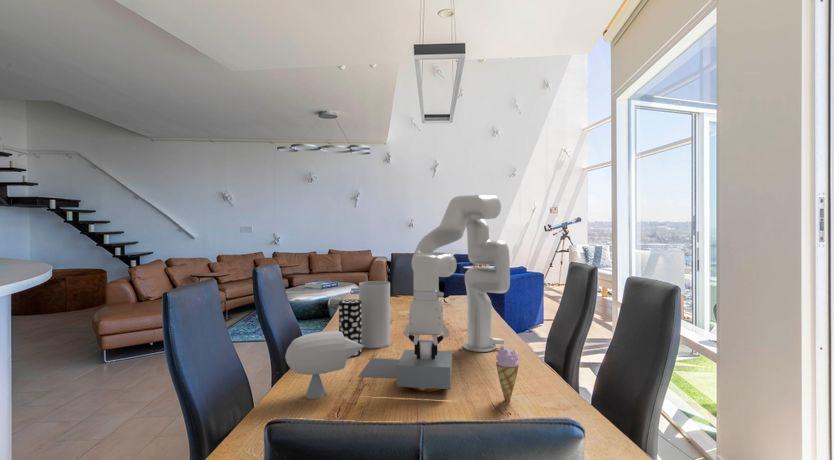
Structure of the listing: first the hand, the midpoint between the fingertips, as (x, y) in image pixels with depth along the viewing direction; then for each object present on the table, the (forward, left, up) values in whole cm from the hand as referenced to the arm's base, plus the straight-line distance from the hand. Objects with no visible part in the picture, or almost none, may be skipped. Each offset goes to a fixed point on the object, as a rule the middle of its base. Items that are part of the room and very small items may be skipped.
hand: (426, 356), depth 119 cm
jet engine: (+28, +9, -9) cm, 31 cm away
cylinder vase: (+25, -40, -9) cm, 48 cm away
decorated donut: (0, 0, -9) cm, 9 cm away
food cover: (0, 0, -6) cm, 6 cm away
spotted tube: (+31, -26, -9) cm, 41 cm away
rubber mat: (+13, -13, -9) cm, 20 cm away
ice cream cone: (-23, +7, -9) cm, 26 cm away
